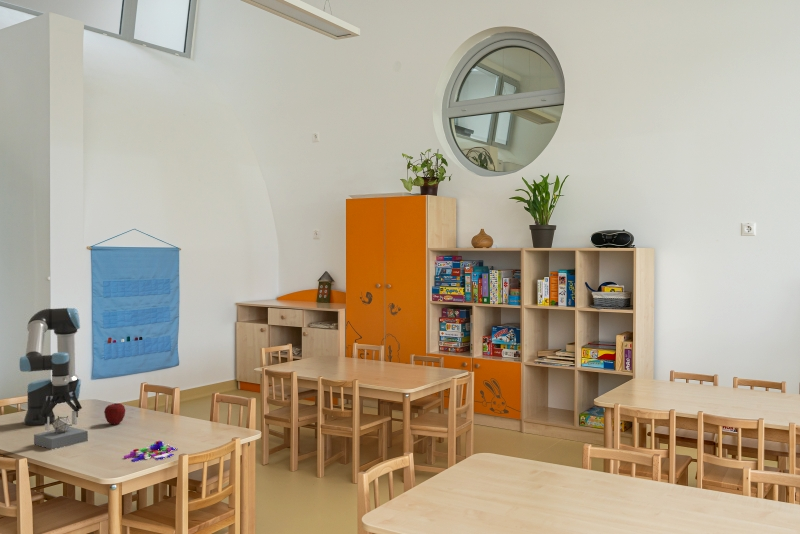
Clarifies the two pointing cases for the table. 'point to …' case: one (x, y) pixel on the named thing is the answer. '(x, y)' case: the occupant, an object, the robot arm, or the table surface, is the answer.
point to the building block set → (154, 448)
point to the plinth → (61, 438)
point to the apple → (114, 413)
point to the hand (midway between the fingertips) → (61, 427)
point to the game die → (61, 424)
